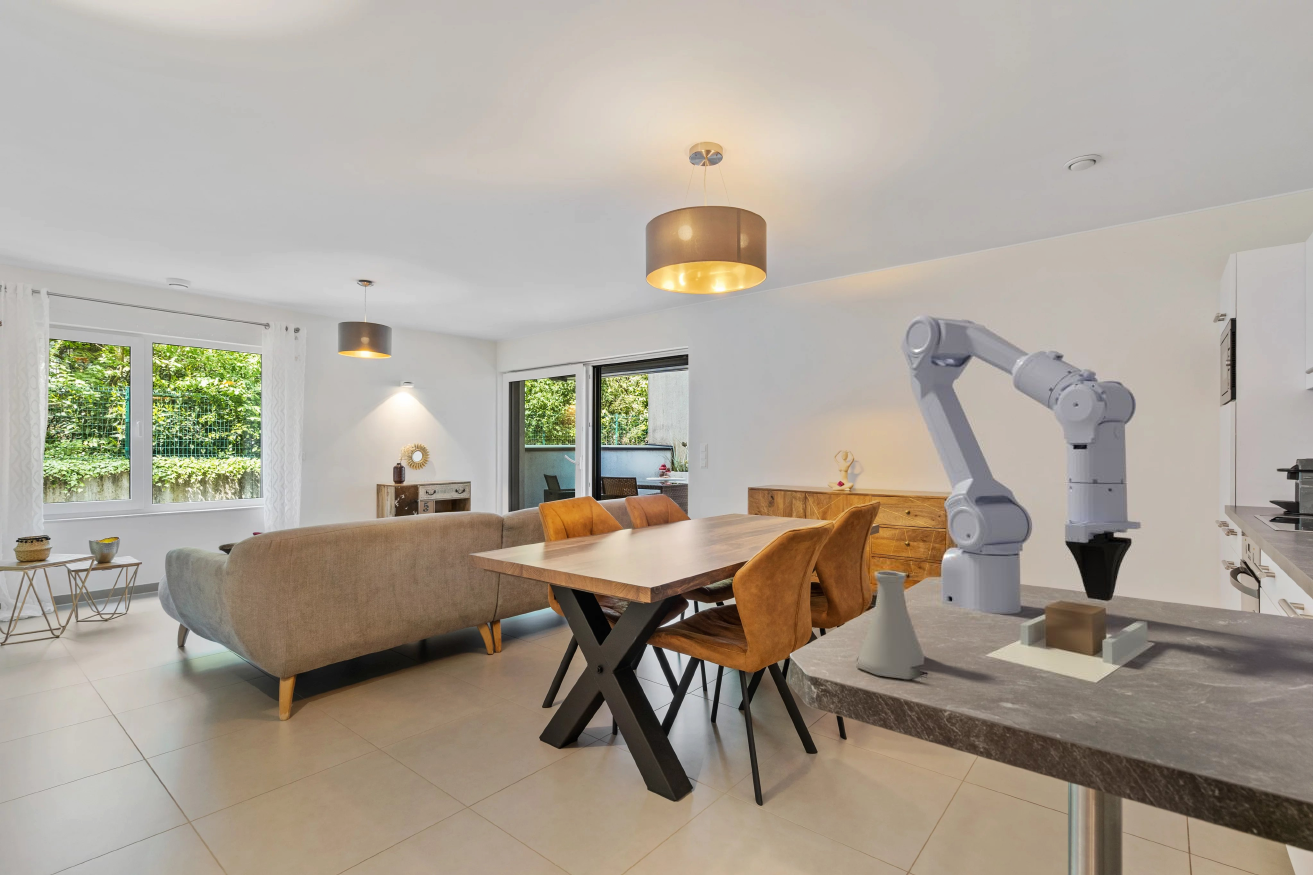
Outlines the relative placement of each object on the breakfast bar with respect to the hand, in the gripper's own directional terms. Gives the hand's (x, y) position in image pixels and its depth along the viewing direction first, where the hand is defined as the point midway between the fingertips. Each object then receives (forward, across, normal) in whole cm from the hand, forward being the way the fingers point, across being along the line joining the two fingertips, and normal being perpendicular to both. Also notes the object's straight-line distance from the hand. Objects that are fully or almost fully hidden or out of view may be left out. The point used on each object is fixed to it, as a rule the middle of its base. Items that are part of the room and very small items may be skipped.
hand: (1099, 598), depth 73 cm
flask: (+6, -26, +11) cm, 29 cm away
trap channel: (+5, -8, 0) cm, 10 cm away
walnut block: (+4, -8, 0) cm, 9 cm away
